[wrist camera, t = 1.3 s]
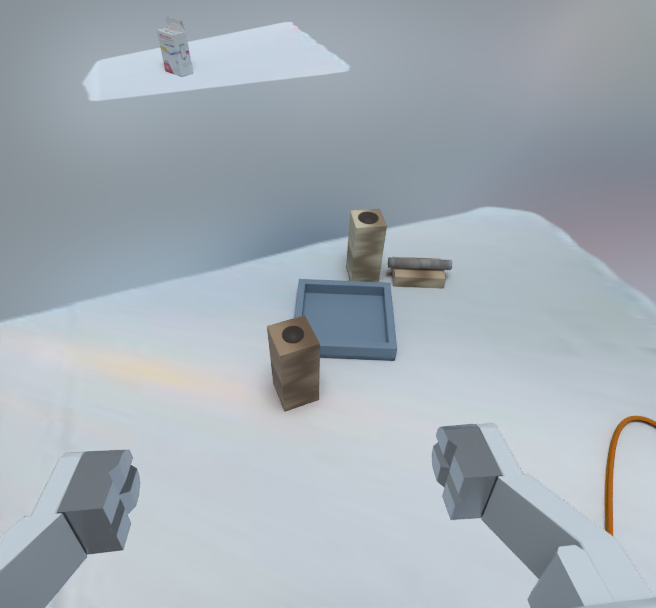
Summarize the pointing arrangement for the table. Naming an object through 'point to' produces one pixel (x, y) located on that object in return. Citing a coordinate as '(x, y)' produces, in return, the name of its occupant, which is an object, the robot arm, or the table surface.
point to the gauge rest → (419, 271)
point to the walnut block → (294, 362)
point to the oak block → (365, 245)
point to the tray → (349, 318)
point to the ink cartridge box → (175, 48)
